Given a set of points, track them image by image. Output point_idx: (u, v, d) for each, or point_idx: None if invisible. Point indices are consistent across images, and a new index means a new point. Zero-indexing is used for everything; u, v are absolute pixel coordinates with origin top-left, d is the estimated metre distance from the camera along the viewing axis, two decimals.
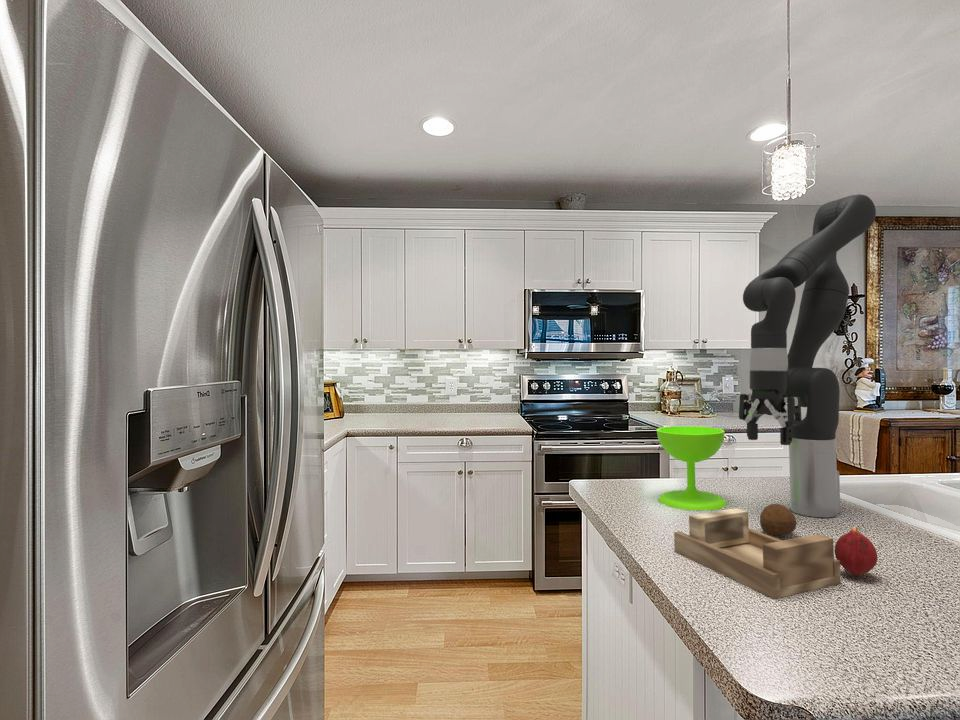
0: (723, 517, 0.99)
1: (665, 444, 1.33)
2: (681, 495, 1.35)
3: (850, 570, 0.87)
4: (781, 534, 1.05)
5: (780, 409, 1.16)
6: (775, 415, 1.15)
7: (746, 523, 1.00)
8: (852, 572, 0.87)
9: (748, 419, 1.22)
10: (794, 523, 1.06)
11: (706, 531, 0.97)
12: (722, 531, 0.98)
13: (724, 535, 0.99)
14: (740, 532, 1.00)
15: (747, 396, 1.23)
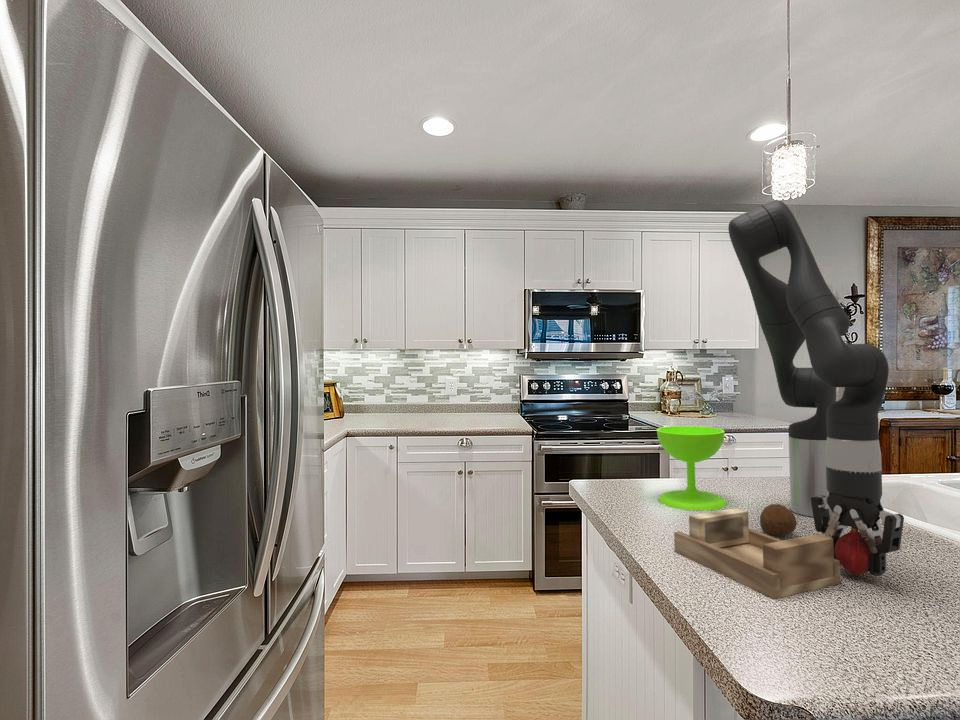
0: (723, 517, 0.99)
1: (665, 444, 1.33)
2: (681, 495, 1.35)
3: (850, 570, 0.87)
4: (781, 534, 1.05)
5: None
6: (863, 534, 0.85)
7: (746, 523, 1.00)
8: (852, 572, 0.87)
9: (830, 534, 0.91)
10: (794, 523, 1.06)
11: (706, 531, 0.97)
12: (722, 531, 0.98)
13: (724, 535, 0.99)
14: (740, 532, 1.00)
15: (821, 499, 0.93)
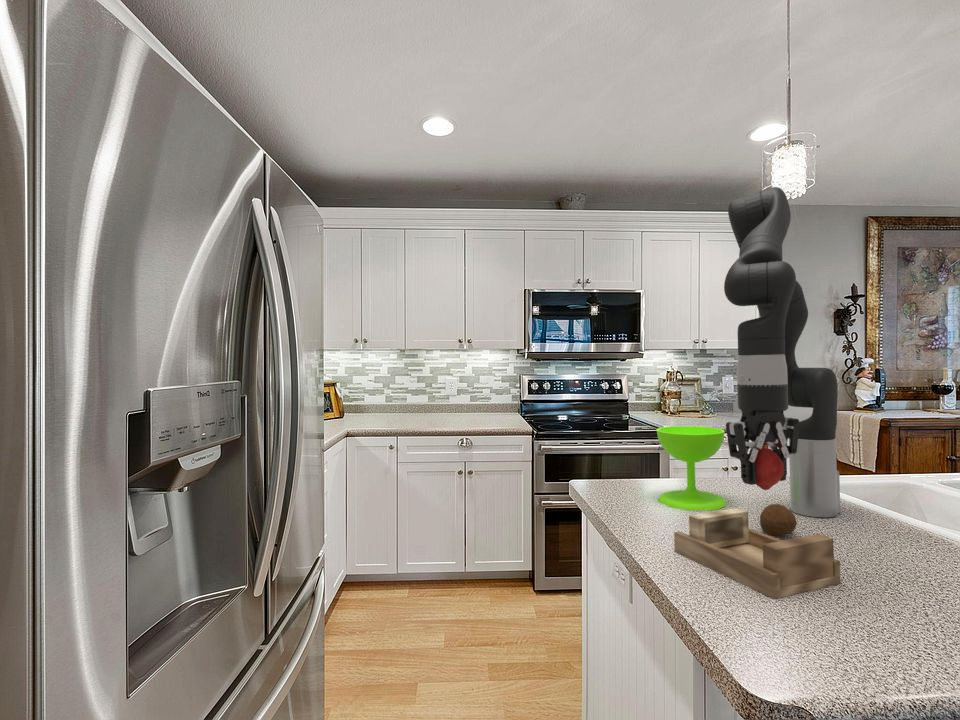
0: (723, 517, 0.99)
1: (665, 444, 1.33)
2: (681, 495, 1.35)
3: None
4: (781, 534, 1.05)
5: (752, 436, 0.89)
6: None
7: (746, 523, 1.00)
8: None
9: None
10: (794, 523, 1.06)
11: (706, 531, 0.97)
12: (722, 531, 0.98)
13: (724, 535, 0.99)
14: (740, 532, 1.00)
15: None
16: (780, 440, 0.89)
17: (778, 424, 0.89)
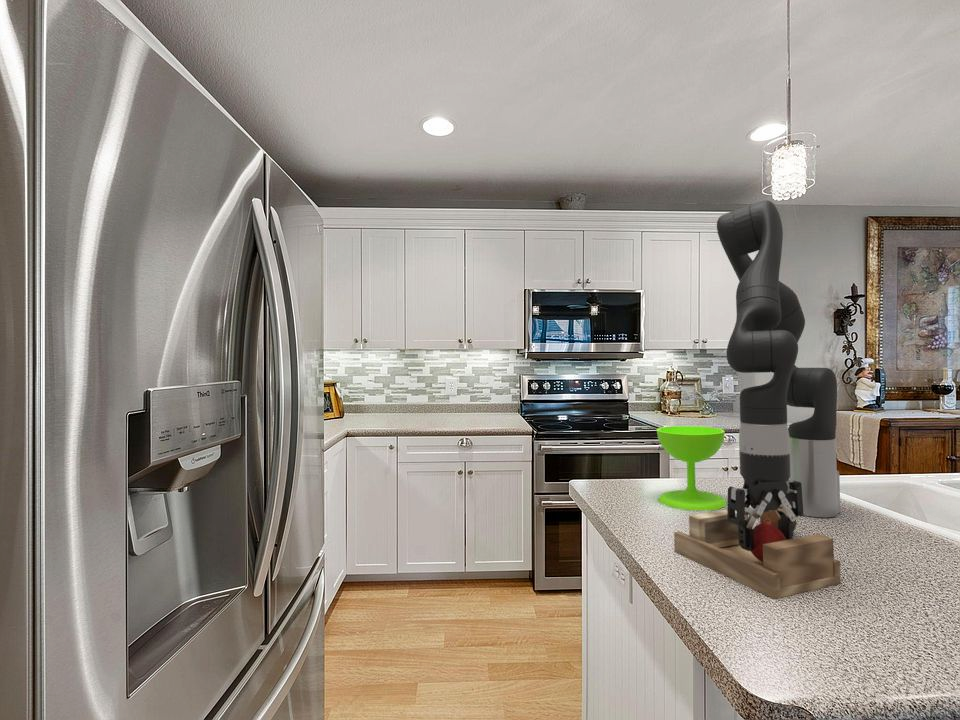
0: (723, 517, 0.99)
1: (665, 444, 1.33)
2: (681, 495, 1.35)
3: None
4: None
5: (753, 503, 0.89)
6: None
7: None
8: None
9: None
10: (794, 523, 1.06)
11: (706, 531, 0.97)
12: (722, 531, 0.98)
13: (724, 535, 0.99)
14: None
15: None
16: (785, 507, 0.89)
17: (780, 493, 0.88)
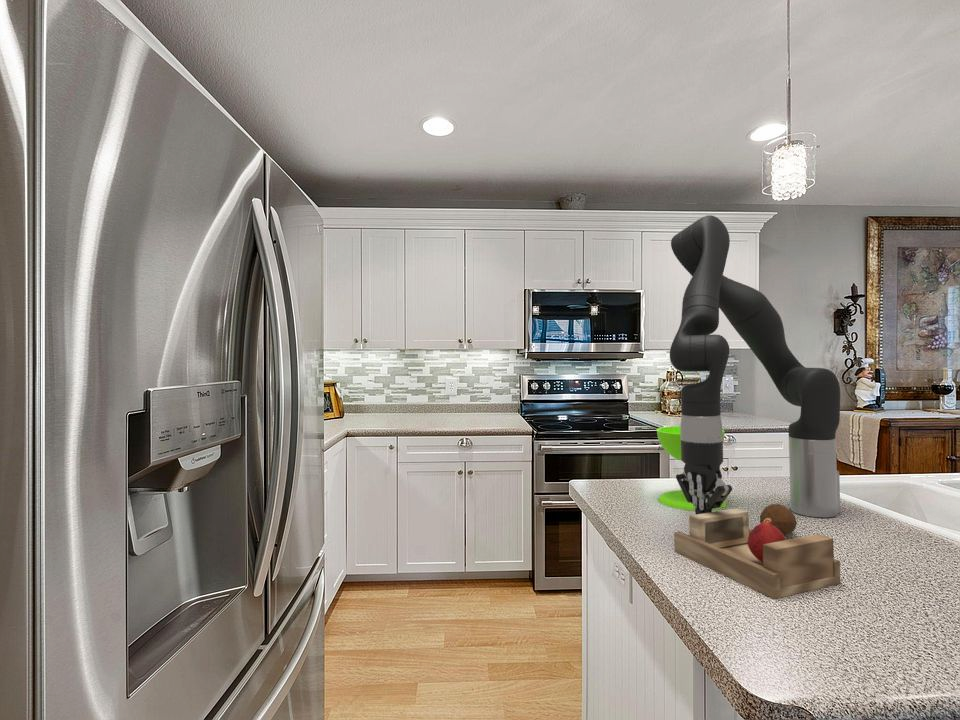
0: (723, 517, 0.99)
1: (665, 444, 1.33)
2: (681, 495, 1.35)
3: None
4: None
5: None
6: (699, 495, 1.02)
7: (746, 523, 1.00)
8: None
9: (696, 503, 1.03)
10: (794, 523, 1.06)
11: (706, 531, 0.97)
12: (722, 532, 0.98)
13: (724, 535, 0.99)
14: (740, 532, 1.00)
15: (683, 474, 1.08)
16: None
17: None
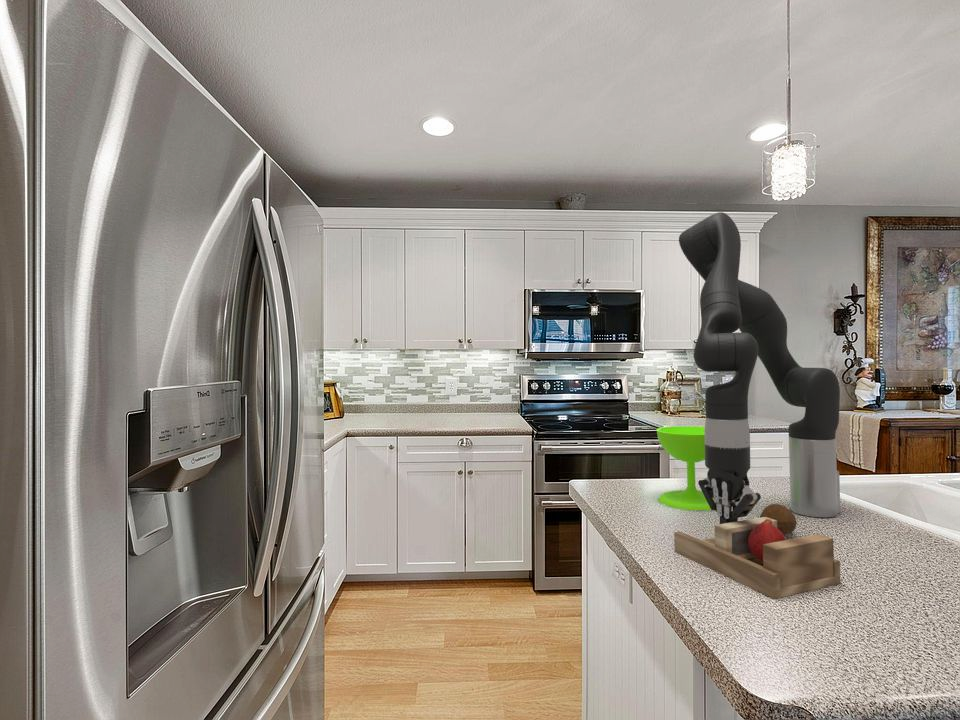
0: (750, 527, 0.93)
1: (665, 444, 1.33)
2: (681, 495, 1.35)
3: None
4: None
5: None
6: (724, 503, 0.96)
7: None
8: None
9: (721, 512, 0.98)
10: (794, 523, 1.06)
11: (733, 542, 0.91)
12: None
13: None
14: None
15: (706, 480, 1.02)
16: None
17: None
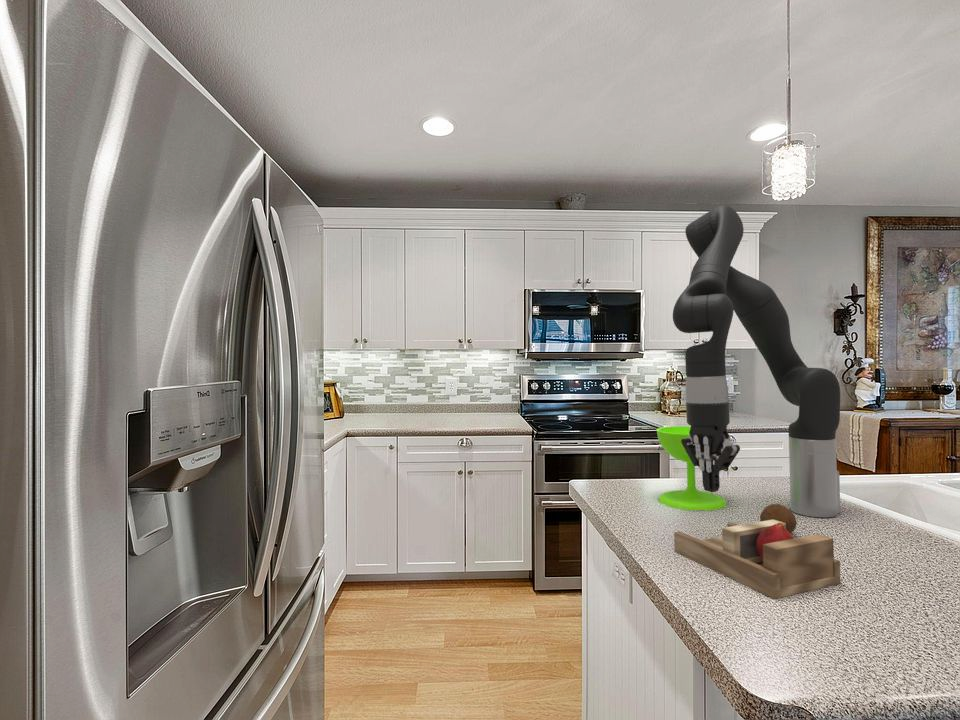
0: (759, 530, 0.91)
1: (665, 444, 1.33)
2: (681, 495, 1.35)
3: None
4: None
5: None
6: (706, 457, 1.00)
7: None
8: None
9: (703, 466, 1.02)
10: (794, 523, 1.06)
11: (741, 545, 0.90)
12: None
13: None
14: None
15: (688, 438, 1.06)
16: None
17: None
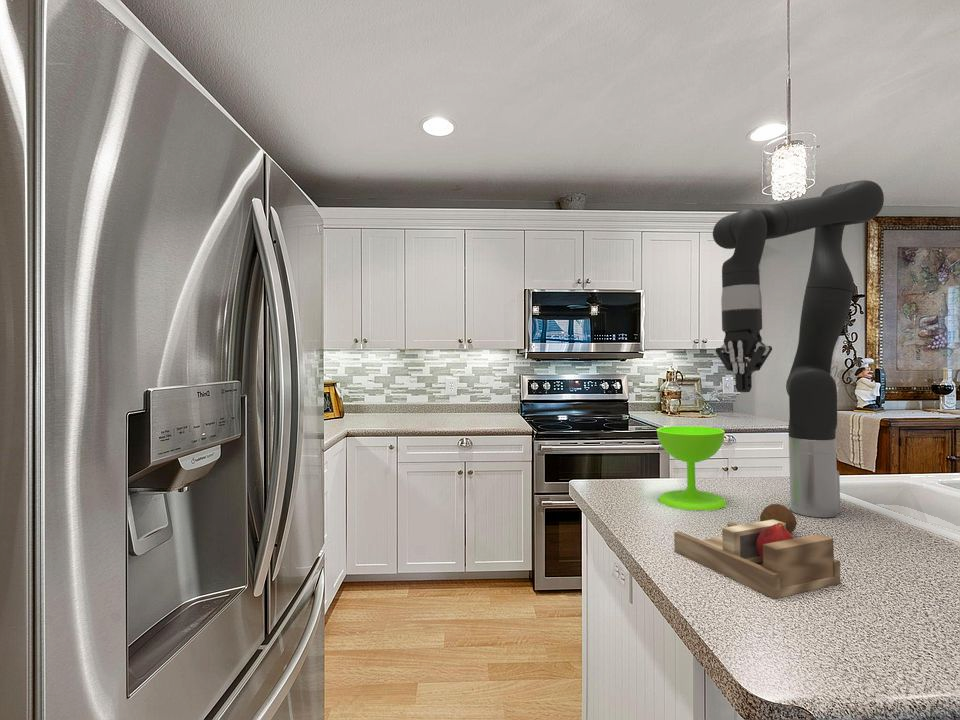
0: (759, 530, 0.91)
1: (665, 444, 1.33)
2: (681, 495, 1.35)
3: None
4: None
5: None
6: (740, 359, 1.10)
7: None
8: None
9: (736, 369, 1.11)
10: (794, 523, 1.06)
11: (741, 545, 0.90)
12: None
13: None
14: None
15: (722, 347, 1.16)
16: None
17: None
